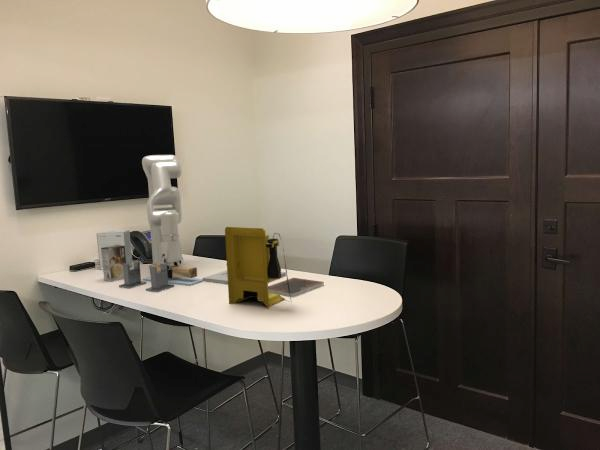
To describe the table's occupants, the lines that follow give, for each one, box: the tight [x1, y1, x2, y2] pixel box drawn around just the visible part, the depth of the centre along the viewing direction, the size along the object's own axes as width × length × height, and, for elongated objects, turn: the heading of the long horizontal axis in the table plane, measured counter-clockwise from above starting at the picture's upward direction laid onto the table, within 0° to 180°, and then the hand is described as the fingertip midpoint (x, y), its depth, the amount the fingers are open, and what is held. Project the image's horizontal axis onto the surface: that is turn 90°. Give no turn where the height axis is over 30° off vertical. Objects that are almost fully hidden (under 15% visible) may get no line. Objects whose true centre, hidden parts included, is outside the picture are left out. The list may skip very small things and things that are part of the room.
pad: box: [142, 275, 203, 287], centre depth 235 cm, size 10×30×1 cm, turn 60°
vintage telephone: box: [224, 226, 292, 310], centre depth 191 cm, size 31×14×30 cm, turn 59°
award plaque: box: [202, 269, 287, 285], centre depth 234 cm, size 25×30×2 cm
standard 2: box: [145, 264, 175, 293], centre depth 220 cm, size 10×7×10 cm
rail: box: [148, 263, 198, 278], centre depth 235 cm, size 4×26×4 cm, turn 60°
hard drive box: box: [96, 230, 134, 269], centre depth 269 cm, size 16×8×20 cm, turn 84°
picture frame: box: [268, 277, 325, 298], centre depth 212 cm, size 16×2×22 cm
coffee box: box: [101, 245, 126, 282], centre depth 242 cm, size 9×6×16 cm
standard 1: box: [118, 260, 148, 289], centre depth 228 cm, size 10×7×10 cm
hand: (173, 276), depth 235 cm, fingers closed on rail, 4 cm apart
